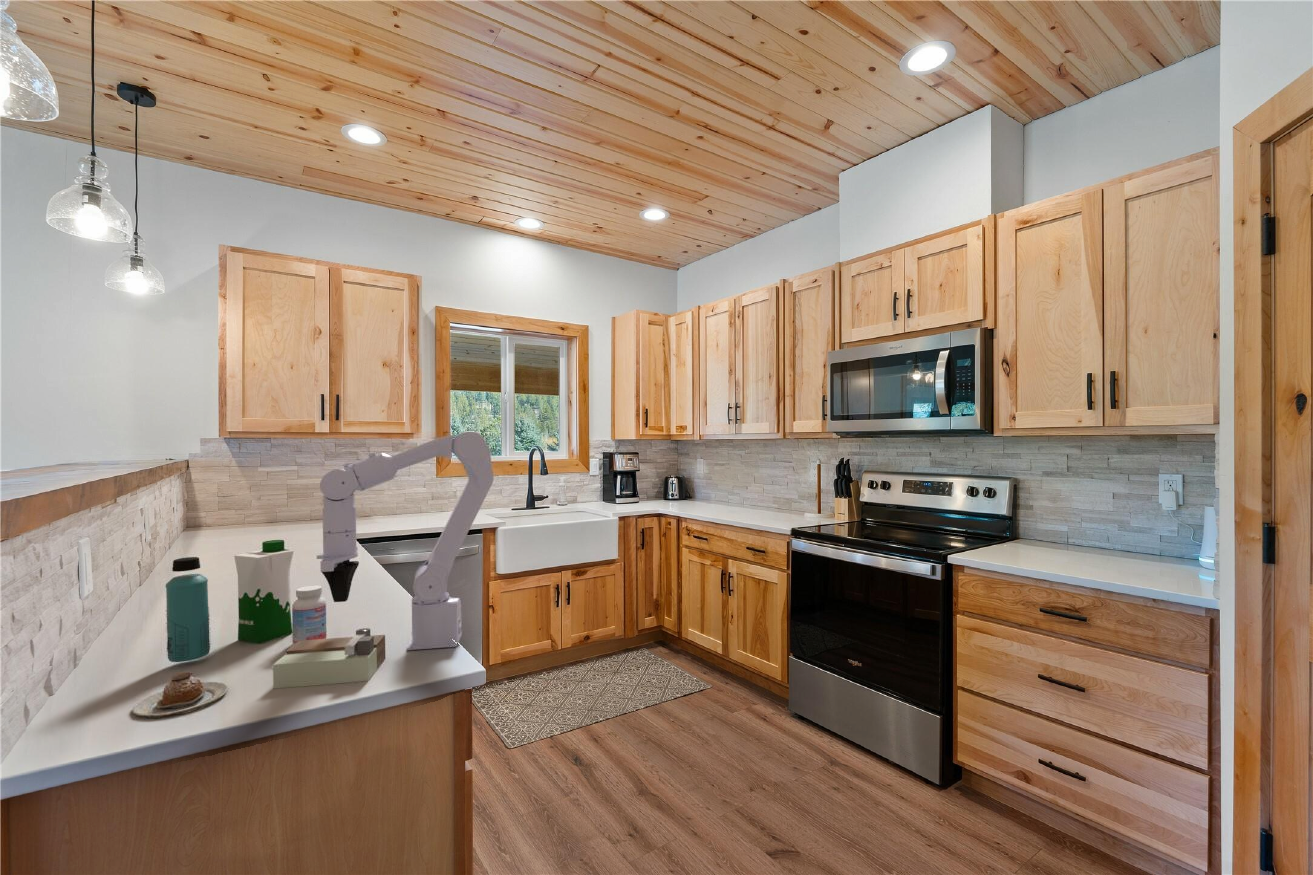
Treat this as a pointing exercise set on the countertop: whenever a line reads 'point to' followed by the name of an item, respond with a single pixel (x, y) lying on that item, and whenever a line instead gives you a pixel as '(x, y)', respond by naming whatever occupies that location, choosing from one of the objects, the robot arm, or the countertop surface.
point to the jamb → (336, 646)
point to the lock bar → (352, 644)
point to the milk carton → (264, 593)
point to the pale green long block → (326, 666)
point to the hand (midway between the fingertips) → (340, 600)
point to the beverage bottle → (187, 613)
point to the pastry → (180, 696)
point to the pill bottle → (309, 614)
